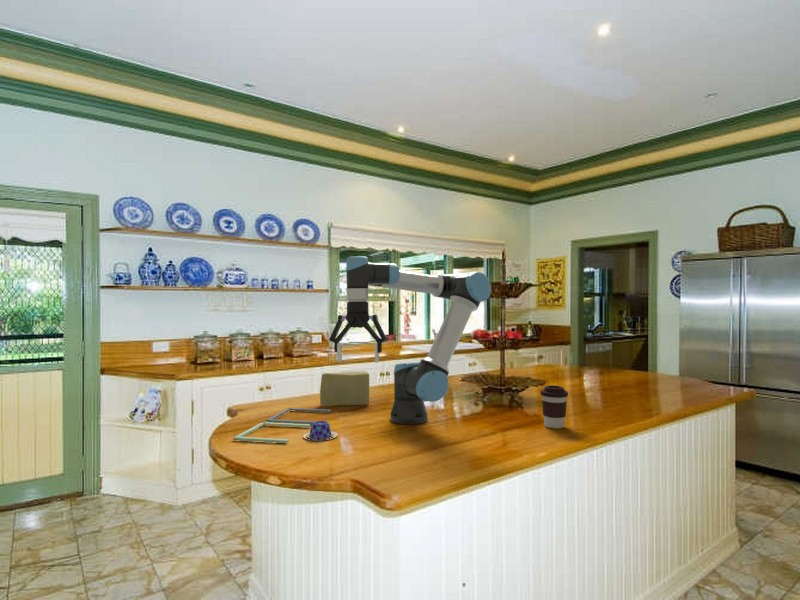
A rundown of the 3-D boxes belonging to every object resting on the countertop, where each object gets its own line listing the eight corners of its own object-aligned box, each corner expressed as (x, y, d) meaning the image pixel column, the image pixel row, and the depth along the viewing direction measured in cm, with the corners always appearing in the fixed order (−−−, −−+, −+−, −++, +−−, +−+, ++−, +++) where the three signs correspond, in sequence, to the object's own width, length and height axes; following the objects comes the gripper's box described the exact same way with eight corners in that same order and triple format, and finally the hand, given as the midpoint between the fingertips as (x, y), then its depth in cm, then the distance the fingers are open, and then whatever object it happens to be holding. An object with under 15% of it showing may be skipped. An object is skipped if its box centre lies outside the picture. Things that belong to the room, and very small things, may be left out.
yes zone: (310, 427, 176) (310, 424, 176) (286, 444, 155) (286, 440, 155) (262, 425, 179) (262, 421, 179) (233, 441, 159) (233, 437, 159)
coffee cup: (569, 424, 179) (569, 385, 179) (566, 431, 170) (566, 390, 170) (542, 421, 183) (542, 383, 183) (538, 428, 174) (538, 388, 174)
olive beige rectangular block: (321, 408, 207) (321, 375, 207) (319, 404, 216) (319, 371, 216) (370, 405, 213) (369, 372, 213) (365, 401, 222) (365, 369, 223)
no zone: (331, 412, 199) (331, 409, 199) (313, 425, 179) (313, 422, 179) (288, 410, 203) (288, 407, 203) (266, 423, 182) (266, 420, 182)
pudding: (299, 442, 158) (299, 427, 158) (307, 432, 170) (307, 418, 170) (334, 442, 158) (334, 427, 158) (340, 432, 170) (340, 418, 170)
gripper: (394, 300, 163) (395, 361, 163) (327, 301, 168) (328, 359, 168) (390, 300, 155) (390, 363, 155) (319, 301, 161) (320, 362, 161)
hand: (358, 362), depth 162 cm, fingers open, 13 cm apart
